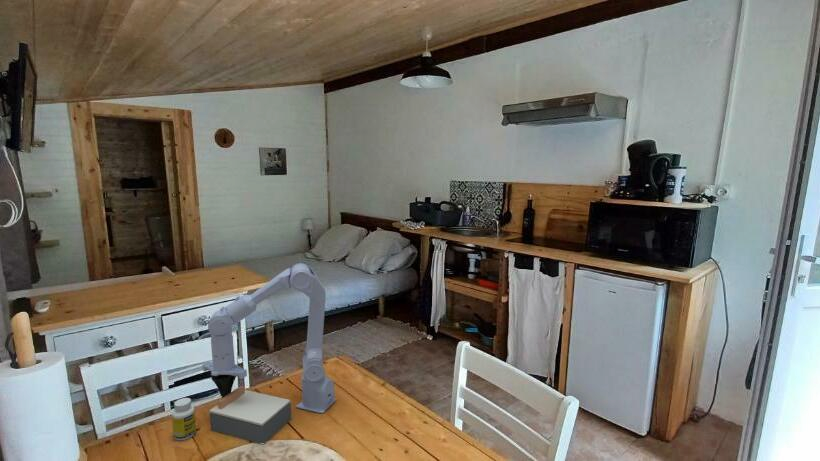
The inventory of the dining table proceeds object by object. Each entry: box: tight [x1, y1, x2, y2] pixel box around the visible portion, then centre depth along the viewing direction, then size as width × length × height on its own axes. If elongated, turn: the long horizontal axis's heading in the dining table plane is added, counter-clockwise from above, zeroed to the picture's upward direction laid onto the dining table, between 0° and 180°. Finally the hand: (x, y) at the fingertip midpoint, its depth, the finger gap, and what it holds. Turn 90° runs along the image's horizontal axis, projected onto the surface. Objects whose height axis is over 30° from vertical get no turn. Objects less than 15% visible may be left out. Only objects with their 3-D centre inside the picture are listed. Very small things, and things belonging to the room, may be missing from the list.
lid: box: [209, 385, 291, 426], centre depth 114 cm, size 18×12×3 cm, turn 70°
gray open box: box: [209, 402, 292, 444], centre depth 115 cm, size 18×12×5 cm, turn 70°
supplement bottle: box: [171, 397, 197, 441], centre depth 110 cm, size 5×5×10 cm
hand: (226, 396), depth 117 cm, fingers closed
